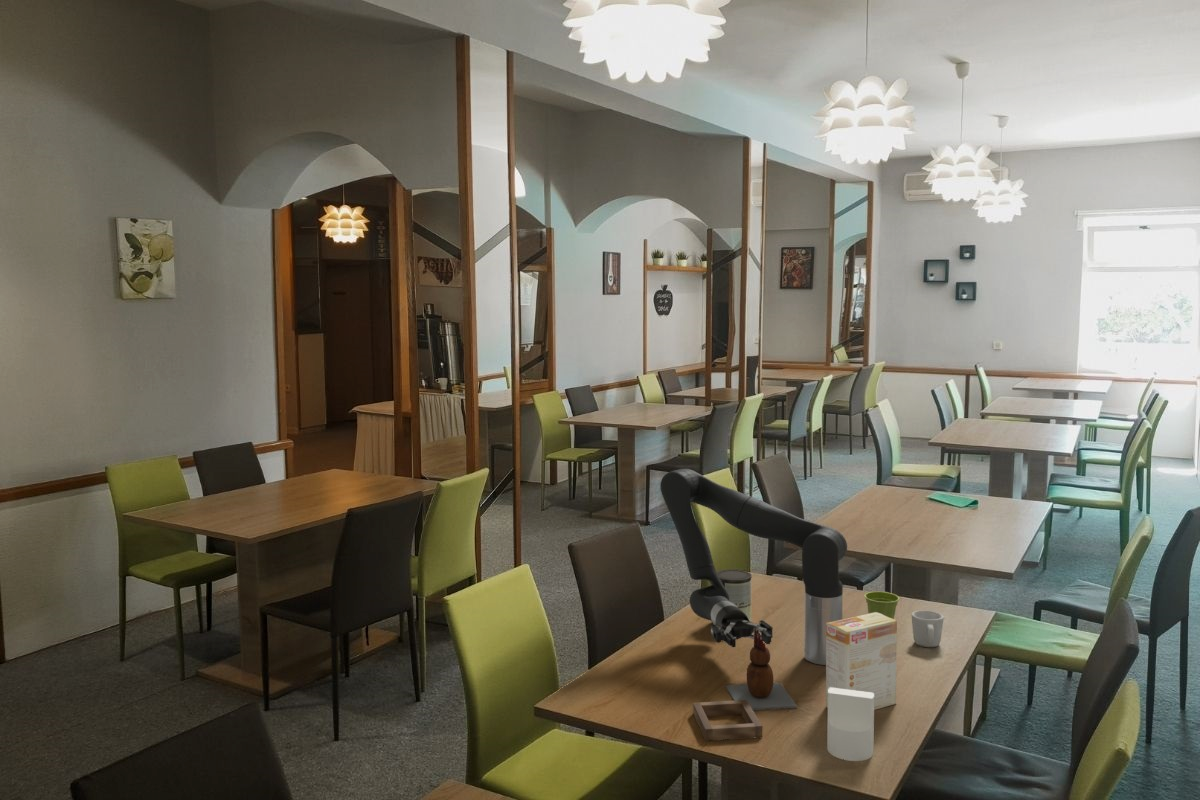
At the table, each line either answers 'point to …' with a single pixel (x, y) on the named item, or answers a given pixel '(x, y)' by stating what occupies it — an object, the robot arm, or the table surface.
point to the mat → (773, 701)
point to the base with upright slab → (850, 724)
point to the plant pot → (882, 603)
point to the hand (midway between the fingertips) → (751, 641)
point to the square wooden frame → (727, 731)
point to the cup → (927, 628)
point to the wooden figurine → (759, 670)
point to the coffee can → (738, 588)
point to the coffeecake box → (863, 656)
